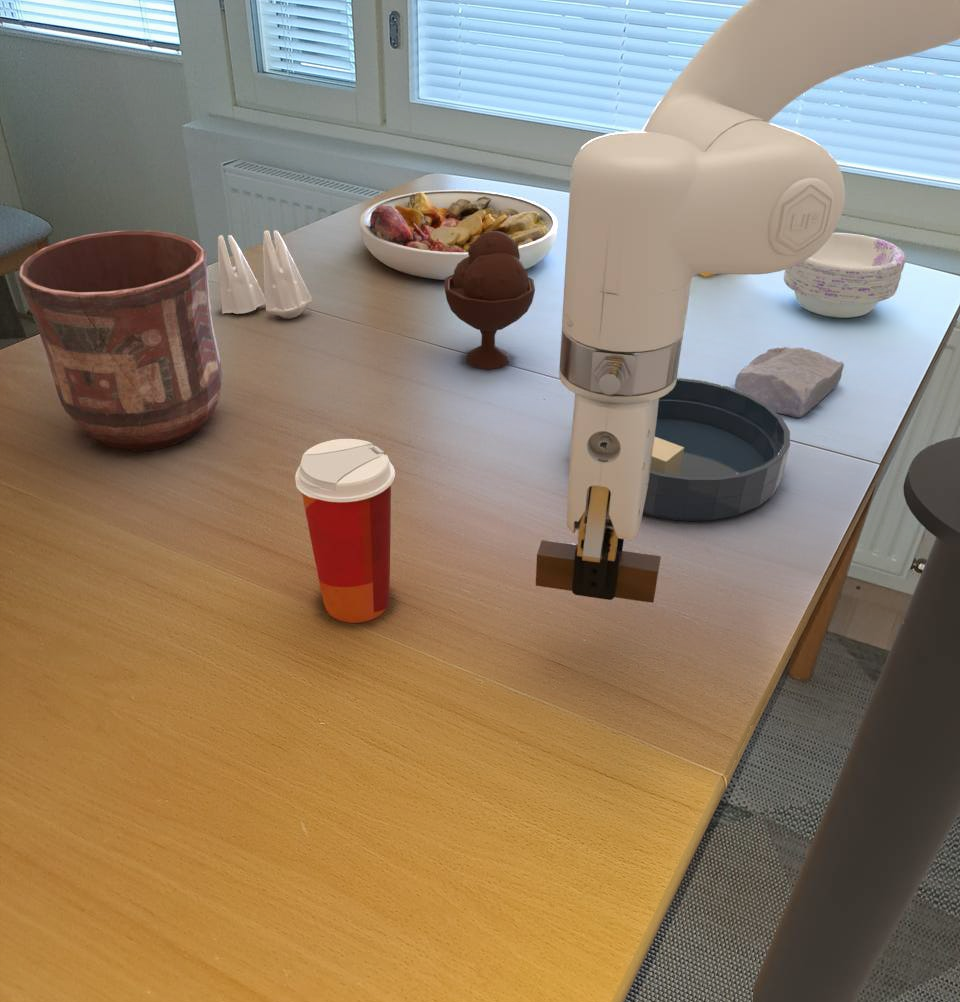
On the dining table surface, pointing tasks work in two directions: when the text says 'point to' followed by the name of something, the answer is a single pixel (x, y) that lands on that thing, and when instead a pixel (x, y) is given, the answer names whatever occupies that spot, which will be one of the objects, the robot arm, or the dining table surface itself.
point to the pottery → (127, 334)
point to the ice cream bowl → (490, 293)
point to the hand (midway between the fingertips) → (596, 582)
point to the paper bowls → (847, 275)
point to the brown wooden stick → (632, 575)
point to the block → (666, 457)
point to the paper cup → (349, 525)
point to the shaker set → (280, 280)
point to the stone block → (790, 379)
